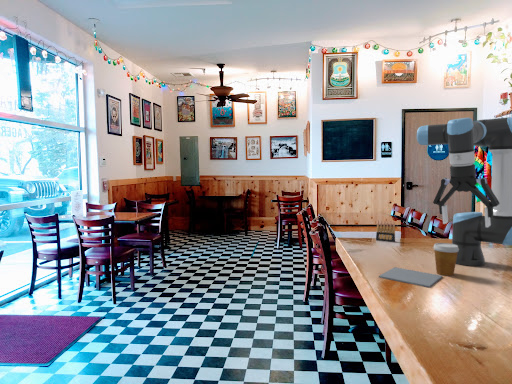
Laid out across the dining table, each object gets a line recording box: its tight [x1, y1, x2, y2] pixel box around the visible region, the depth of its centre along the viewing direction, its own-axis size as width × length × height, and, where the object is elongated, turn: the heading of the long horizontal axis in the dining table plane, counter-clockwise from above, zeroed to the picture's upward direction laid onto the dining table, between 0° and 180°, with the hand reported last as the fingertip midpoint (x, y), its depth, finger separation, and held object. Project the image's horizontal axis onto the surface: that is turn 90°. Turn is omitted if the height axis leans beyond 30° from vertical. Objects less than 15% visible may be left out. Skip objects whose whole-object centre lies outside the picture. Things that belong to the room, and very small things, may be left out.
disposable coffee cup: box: [432, 242, 459, 277], centre depth 153 cm, size 10×10×12 cm
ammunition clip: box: [375, 220, 396, 243], centre depth 220 cm, size 11×2×12 cm, turn 62°
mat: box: [378, 266, 443, 288], centre depth 148 cm, size 17×19×1 cm
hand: (465, 224), depth 129 cm, fingers open, 13 cm apart
